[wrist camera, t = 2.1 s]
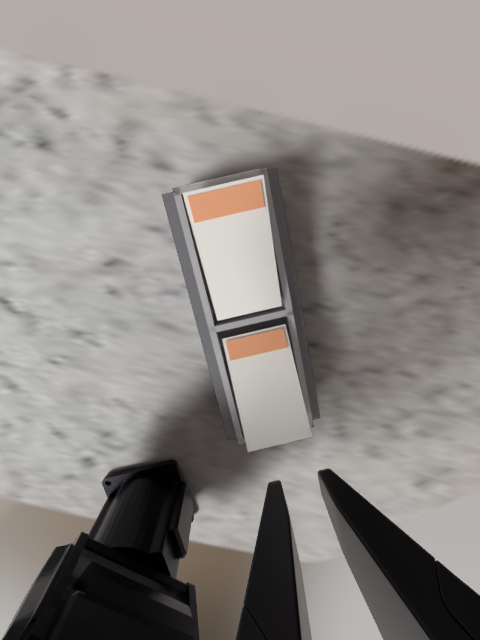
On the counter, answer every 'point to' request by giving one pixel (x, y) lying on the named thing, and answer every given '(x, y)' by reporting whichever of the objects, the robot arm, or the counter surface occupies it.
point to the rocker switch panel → (218, 330)
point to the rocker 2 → (266, 388)
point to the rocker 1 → (235, 246)
